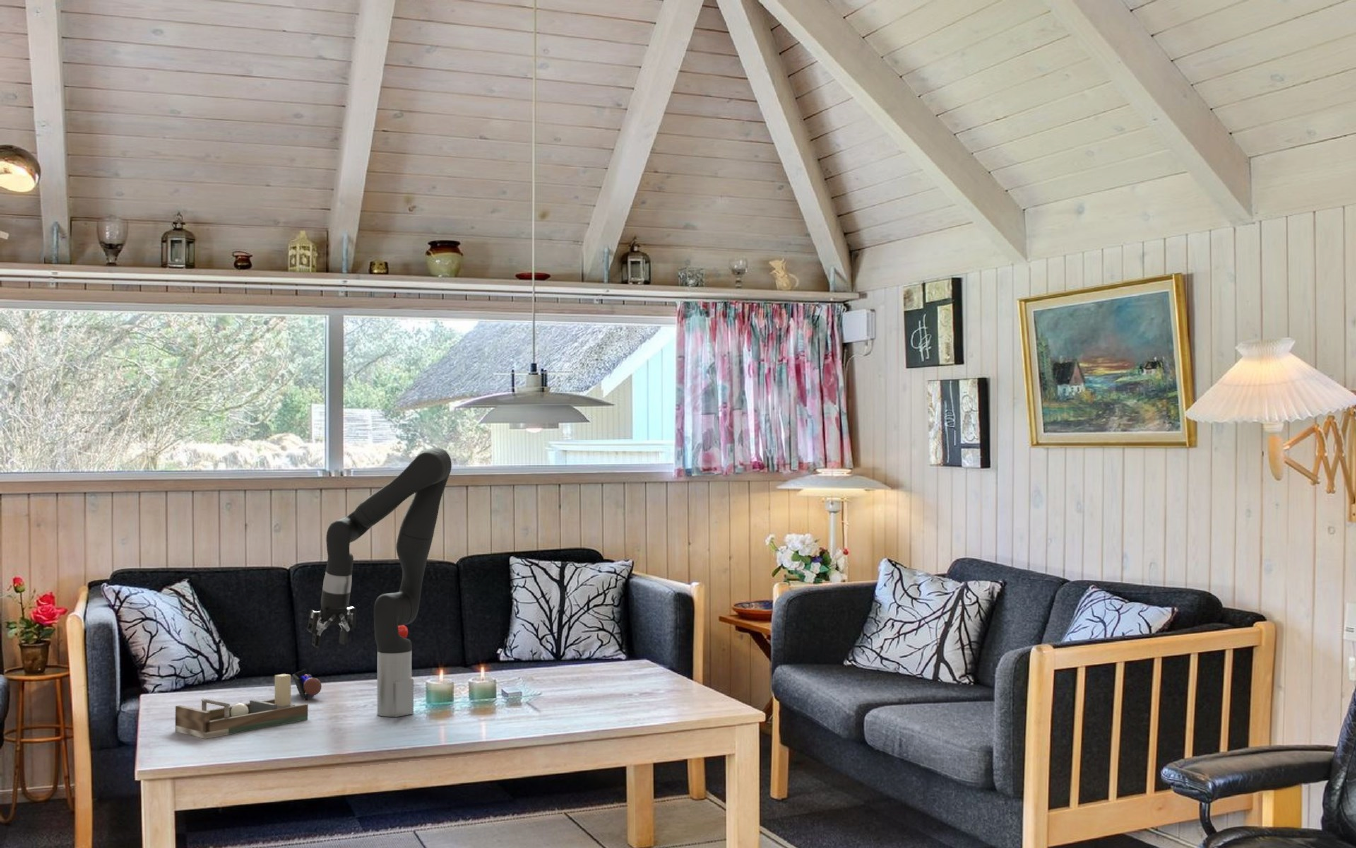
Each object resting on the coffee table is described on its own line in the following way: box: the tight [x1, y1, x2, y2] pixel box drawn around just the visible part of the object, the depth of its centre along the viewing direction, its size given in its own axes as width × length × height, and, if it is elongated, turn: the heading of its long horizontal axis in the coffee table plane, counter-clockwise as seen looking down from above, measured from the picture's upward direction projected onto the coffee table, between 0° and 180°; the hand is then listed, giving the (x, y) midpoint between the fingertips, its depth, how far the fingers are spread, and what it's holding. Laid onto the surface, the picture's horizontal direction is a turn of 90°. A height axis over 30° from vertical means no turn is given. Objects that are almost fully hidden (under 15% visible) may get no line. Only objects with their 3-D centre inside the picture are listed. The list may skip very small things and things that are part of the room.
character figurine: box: [291, 668, 323, 701], centre depth 367 cm, size 8×7×15 cm
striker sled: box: [249, 673, 296, 713], centre depth 335 cm, size 11×9×10 cm
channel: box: [174, 698, 309, 740], centre depth 327 cm, size 14×30×8 cm, turn 141°
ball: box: [231, 702, 248, 717], centre depth 326 cm, size 4×4×4 cm
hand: (329, 645), depth 344 cm, fingers open, 8 cm apart
